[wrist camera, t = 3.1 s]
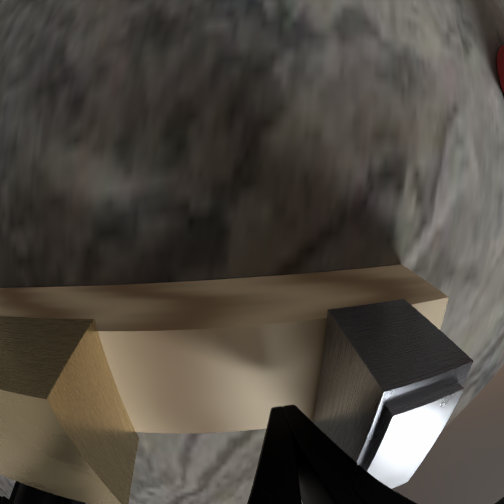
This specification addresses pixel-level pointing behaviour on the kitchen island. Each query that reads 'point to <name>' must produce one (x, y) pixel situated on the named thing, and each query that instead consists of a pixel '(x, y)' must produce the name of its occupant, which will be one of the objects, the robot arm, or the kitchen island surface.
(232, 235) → the kitchen island surface
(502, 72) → the smoothie
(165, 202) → the kitchen island surface
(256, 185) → the kitchen island surface
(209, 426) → the body
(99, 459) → the tan rectangular block
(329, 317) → the dark grey block
